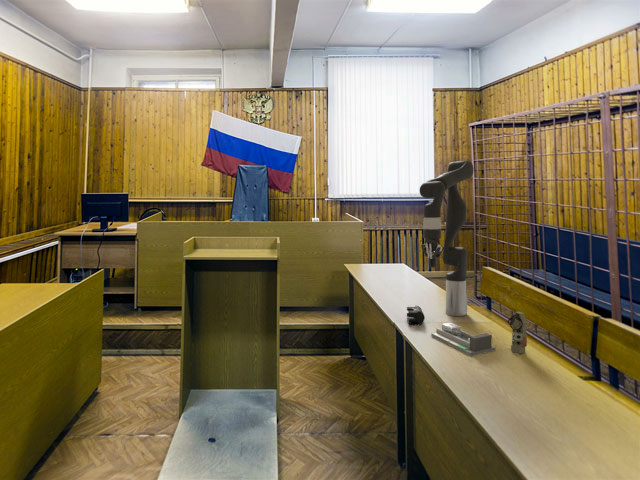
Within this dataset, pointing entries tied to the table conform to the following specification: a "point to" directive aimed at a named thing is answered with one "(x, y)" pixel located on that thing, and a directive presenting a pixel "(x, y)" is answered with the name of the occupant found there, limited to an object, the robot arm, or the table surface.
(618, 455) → the table surface
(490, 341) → the gauge board
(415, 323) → the end cap
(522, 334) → the grenade model
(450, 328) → the grey textured block
